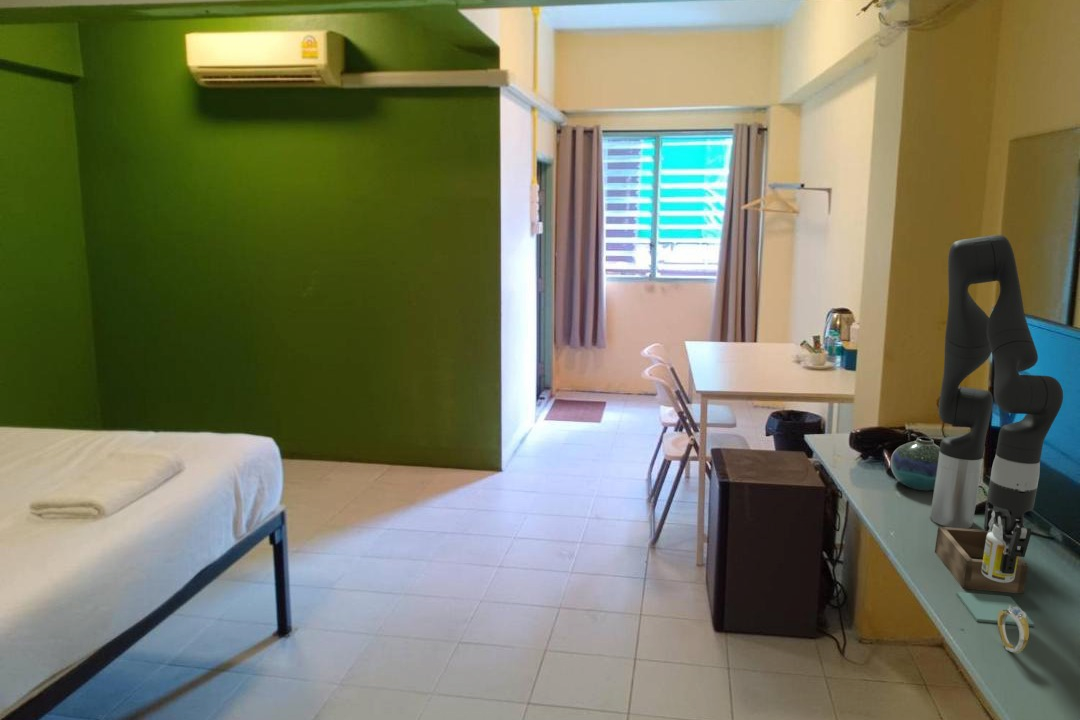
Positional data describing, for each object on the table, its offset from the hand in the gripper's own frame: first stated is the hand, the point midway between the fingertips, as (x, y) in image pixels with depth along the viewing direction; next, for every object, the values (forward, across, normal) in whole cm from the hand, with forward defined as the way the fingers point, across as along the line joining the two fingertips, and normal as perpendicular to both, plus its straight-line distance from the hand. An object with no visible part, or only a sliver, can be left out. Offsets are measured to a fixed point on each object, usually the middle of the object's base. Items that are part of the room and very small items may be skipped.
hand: (999, 564), depth 149 cm
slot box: (+9, -16, +3) cm, 19 cm away
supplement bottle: (+3, 0, 0) cm, 3 cm away
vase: (+9, -66, +7) cm, 67 cm away
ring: (+10, +14, -3) cm, 17 cm away
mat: (+9, 0, 0) cm, 9 cm away
